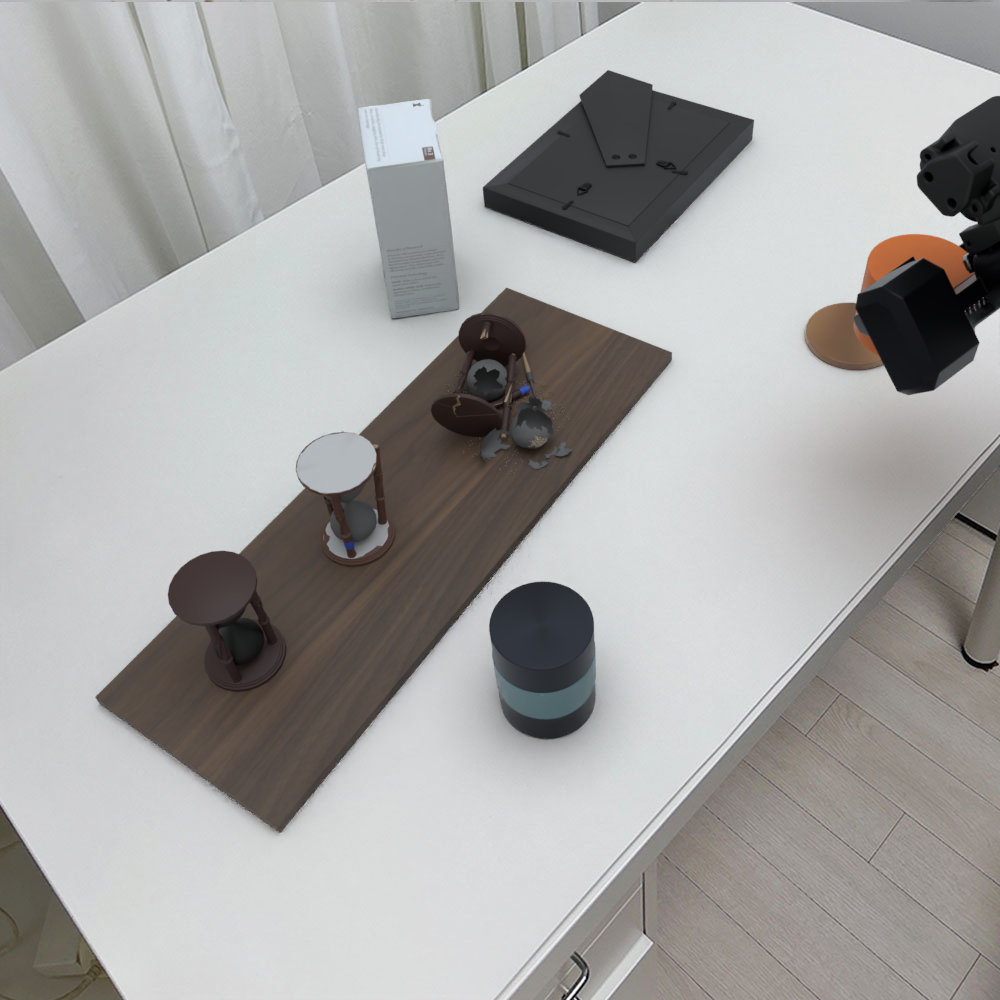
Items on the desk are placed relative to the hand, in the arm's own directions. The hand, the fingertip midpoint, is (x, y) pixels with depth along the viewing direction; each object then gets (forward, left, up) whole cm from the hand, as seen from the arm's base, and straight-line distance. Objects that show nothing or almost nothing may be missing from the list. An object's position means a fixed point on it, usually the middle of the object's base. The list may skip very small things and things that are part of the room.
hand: (892, 299), depth 69 cm
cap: (-1, +1, -2) cm, 2 cm away
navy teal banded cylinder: (+22, +21, -13) cm, 33 cm away
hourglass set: (+31, +6, -13) cm, 34 cm away
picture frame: (+16, -33, -13) cm, 39 cm away
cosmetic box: (+33, -18, -13) cm, 40 cm away
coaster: (-1, -10, -13) cm, 16 cm away
